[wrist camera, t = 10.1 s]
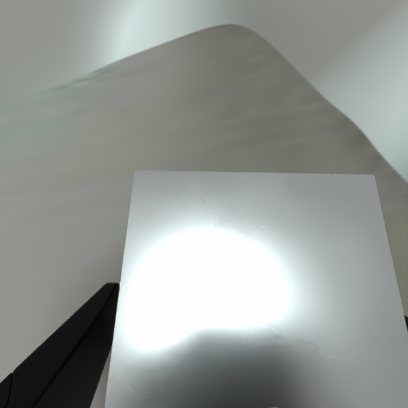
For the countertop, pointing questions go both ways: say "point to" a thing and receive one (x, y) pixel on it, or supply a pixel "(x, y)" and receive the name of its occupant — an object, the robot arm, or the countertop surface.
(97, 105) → the countertop surface
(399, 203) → the countertop surface
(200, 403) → the tall grey square pillar
